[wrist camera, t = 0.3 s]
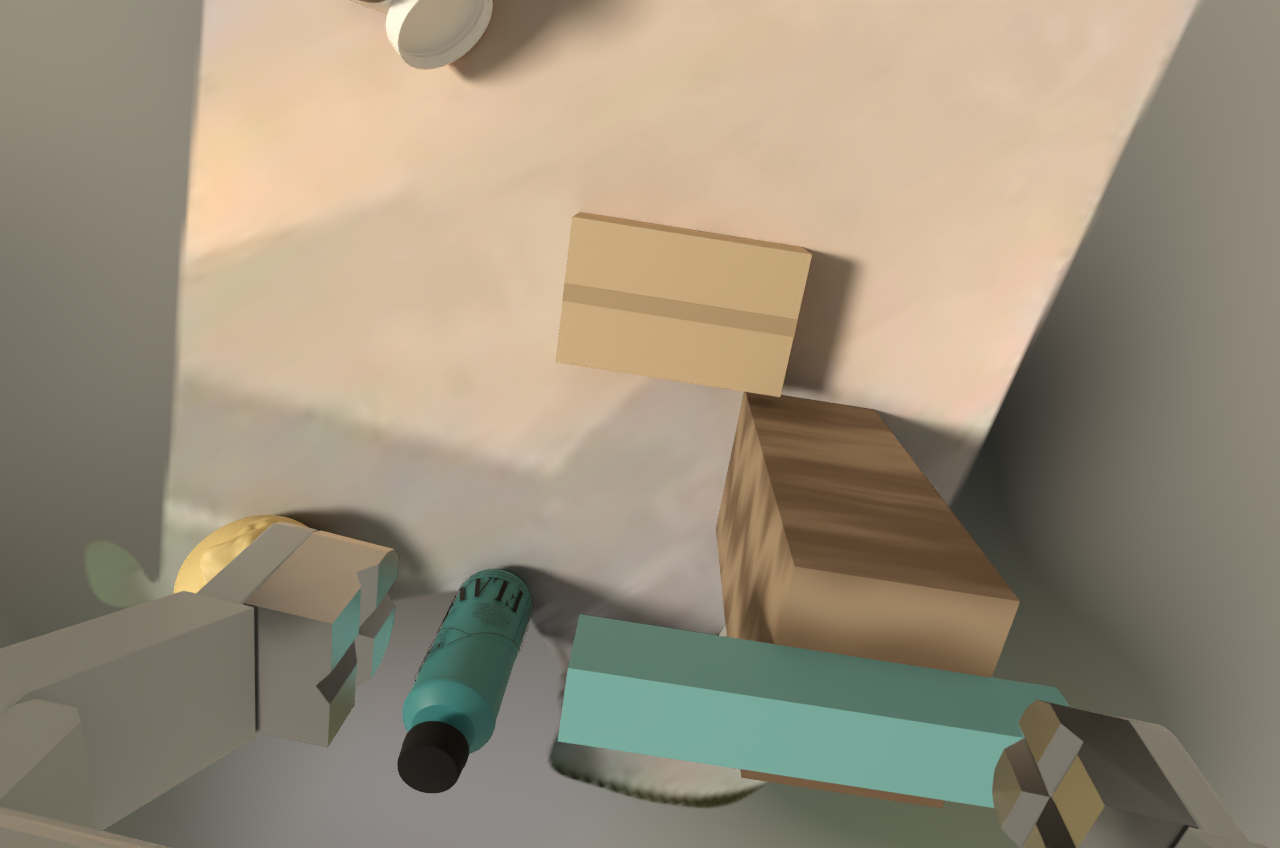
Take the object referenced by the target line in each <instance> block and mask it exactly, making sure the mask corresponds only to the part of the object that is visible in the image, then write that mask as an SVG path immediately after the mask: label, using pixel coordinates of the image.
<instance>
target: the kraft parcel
mask: <svg viewBox="0 0 1280 848" xmlns="http://www.w3.org/2000/svg"><path fill="white" fill-rule="evenodd" d="M811 258H812V254H811V253H809V252H808V251H807V250H806V249H804V248H803V247H797V246H791V245H785V244H778V243H772V242H766V241H759V240H753V239H747V238H740V237H734V236H728V235H721V234H715V233H709V232H702V231H696V230H690V229H683V228H677V227H671V226H664V225H658V224H652V223H645V222H639V221H633V220H626V219H620V218H614V217H607V216H601V215H595V214H588V213H582V212H579V213H578V214H576V215H574V216H573V217H572V225H571V234H570V242H569V251H568V260H567V269H566V277H565V285H564V293H563V304H562V312H561V321H560V330H559V339H558V347H557V356H556V362H559V363H565V364H571V365H578V366H584V367H591V368H597V369H603V370H610V371H616V372H622V373H629V374H635V375H642V376H648V377H654V378H661V379H667V380H674V381H680V382H686V383H693V384H699V385H705V386H712V387H718V388H725V389H731V390H737V391H744V392H750V393H757V394H763V395H769V396H776V397H780V396H781V392H782V387H783V383H784V378H785V374H786V369H787V365H788V360H789V356H790V352H791V347H792V343H793V338H794V335H795V331H796V326H797V322H798V316H799V311H800V307H801V303H802V298H803V294H804V289H805V285H806V280H807V276H808V271H809V267H810V262H811Z"/></svg>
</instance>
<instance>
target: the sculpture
mask: <svg viewBox="0 0 1280 848" xmlns="http://www.w3.org/2000/svg"><path fill="white" fill-rule="evenodd" d="M279 522H287V523H291V524H296V525H300V526H304V527H307V526H306V525H304V524H302V523H300V522H298V521H296V520H294V519H291V518H287V517H283V516H276V515H259V516H252V517H247V518H243V519H240V520H237V521H234V522H232V523H229V524H227V525H225V526H223V527H221V528H220V529H218V530H216V531H215V532H213V533H212V534H210V535H209V536H207V537H206V538H205V539H204V540H202V541H201V542H200V543H199V544H198V545H197V546H196V547H195V548H194V549H193V550H192V552H191V553H190V554H189V555H188V557H187V558H186V560H185V561H184V563H183V565H182V566H181V568H180V571H179V573H178V575H177V578H176V582H175V587H174V594H175V593H178V592H181V591H187V592H192V593H197V592H198V591H199V590H200V589H201V588H202V587H204V586H205V585H206V584H207V583H208V582H209V581H210V580H211V579H212V578H213V577H215V576H216V575H217V574H218V573H219V572H220V571H221V570H222V569H223V568H224V567H226V566H227V565H228V564H229V563H230V562H231V561H232V560H233V559H234V558H235V557H237V556H238V555H239V554H240V553H241V552H242V551H243V550H244V549H245V548H246V547H248V546H249V545H250V544H251V543H252V542H253V541H254V540H255V539H256V538H257V537H259V536H260V535H261V534H262V533H263V532H264V531H265V530H266V529H267V528H268V527H270V526H271V525H272V524H274V523H279ZM308 528H309V527H308Z"/></svg>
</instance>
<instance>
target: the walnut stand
mask: <svg viewBox="0 0 1280 848" xmlns="http://www.w3.org/2000/svg"><path fill="white" fill-rule="evenodd" d="M716 534H717V543H718V553H719V563H720V573H721V583H722V592H723V602H724V612H725V622H726V631H727V637H731V638H738V639H744V640H750V641H757V642H763V643H770V644H776V645H783V646H789V647H796V648H802V649H809V650H815V651H822V652H828V653H835V654H841V655H848V656H854V657H861V658H867V659H874V660H880V661H887V662H893V663H900V664H906V665H913V666H919V667H926V668H932V669H938V670H945V671H951V672H958V673H964V674H971V675H977V676H984V677H990V678H991V677H992V675H993V672H994V669H995V667H996V664H997V661H998V659H999V656H1000V653H1001V651H1002V648H1003V646H1004V643H1005V640H1006V638H1007V635H1008V632H1009V630H1010V627H1011V624H1012V621H1013V619H1014V616H1015V614H1016V611H1017V609H1018V606H1019V603H1020V601H1019V599H1018V598H1017V597H1016V595H1015V594H1014V593H1013V592H1012V590H1011V589H1010V587H1009V586H1008V585H1007V584H1006V582H1005V581H1004V580H1003V578H1002V577H1001V576H1000V574H999V573H998V572H997V570H996V569H995V568H994V566H993V565H992V564H991V562H990V561H989V560H988V558H987V557H986V556H985V555H984V553H983V552H982V551H981V549H980V548H979V547H978V545H977V544H976V543H975V541H974V540H973V539H972V537H971V536H970V535H969V534H968V532H967V531H966V529H965V528H964V527H963V525H962V524H961V523H960V522H959V520H958V519H957V518H956V516H955V515H954V514H953V512H952V511H951V510H950V508H949V507H948V506H947V504H946V503H945V502H944V500H943V499H942V498H941V496H940V495H939V494H938V493H937V491H936V490H935V489H934V487H933V486H932V485H931V483H930V482H929V481H928V479H927V478H926V477H925V475H924V474H923V473H922V471H921V470H920V469H919V468H918V466H917V465H916V464H915V462H914V461H913V460H912V458H911V457H910V456H909V454H908V453H907V452H906V450H905V449H904V448H903V446H902V445H901V444H900V442H899V441H898V440H897V439H896V437H895V436H894V435H893V433H892V432H891V431H890V429H889V428H888V427H887V425H886V424H885V423H884V421H883V420H882V419H881V417H880V416H879V415H878V413H877V412H876V411H875V410H873V409H867V408H861V407H854V406H848V405H842V404H835V403H829V402H822V401H816V400H810V399H803V398H797V397H790V396H784V395H781V396H780V397H776V396H769V395H763V394H757V393H750V392H744V395H743V400H742V405H741V410H740V415H739V420H738V424H737V429H736V434H735V439H734V444H733V449H732V453H731V458H730V463H729V468H728V473H727V478H726V482H725V487H724V492H723V497H722V502H721V507H720V511H719V516H718V521H717V526H716ZM741 778H748V779H755V780H761V781H768V782H775V783H781V784H787V785H794V786H800V787H807V788H813V789H820V790H827V791H833V792H840V793H846V794H853V795H860V796H867V797H872V798H879V799H886V800H892V801H898V802H905V803H912V804H918V805H925V806H931V807H938V808H942V807H943V805H944V802H945V800H940V799H933V798H927V797H920V796H913V795H907V794H900V793H894V792H887V791H881V790H874V789H868V788H861V787H855V786H848V785H842V784H835V783H828V782H822V781H815V780H809V779H802V778H796V777H789V776H783V775H776V774H770V773H763V772H757V771H750V770H743V769H741Z"/></svg>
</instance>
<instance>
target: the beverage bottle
mask: <svg viewBox="0 0 1280 848" xmlns="http://www.w3.org/2000/svg"><path fill="white" fill-rule="evenodd" d="M467 579H468V578H467ZM461 586H462V585H461ZM461 586H460V587H461ZM459 590H460V591H459ZM459 590H458V591H459V593H458V596H457V597H456V596H455V597H456V600H455V602H454V604H453V603H452V604H451V606H452V608H451V606H450V608H451V610H450V608H449V610H450V612H449V610H448V612H449V613H448V612H447V614H446V616H447V617H446V616H445V618H444V620H445V619H446V620H445V622H444V620H443V622H444V624H443V626H442V628H441V629H440V632H439V634H438V636H437V638H436V640H435V642H434V644H433V646H432V648H431V650H430V651H429V652H428V653H429V654H428V653H427V655H428V656H427V658H426V660H424V664H423V667H422V668H421V671H420V670H419V671H420V673H419V675H418V677H417V680H415V681H416V682H415V684H414V686H413V688H412V690H411V692H410V693H409V694H408V696H407V698H406V700H405V702H404V705H403V711H402V716H403V722H404V725H405V728H406V730H407V732H408V733H407V735H406V737H405V739H404V742H403V745H402V749H401V752H400V755H399V758H398V772H399V775H400V777H401V778H402V780H403V781H404V782H405V783H406V784H407V785H409V786H410V787H412V788H413V789H415V790H418V791H421V792H425V793H440V792H444V791H446V790H448V789H450V788H451V787H452V786H453V785H454V784H455V783H456V781H457V780H458V778H459V776H460V774H461V771H462V769H463V768H464V766H465V764H466V762H467V759H468V756H469V754H470V753H473V752H475V751H477V750H479V749H480V748H482V747H483V746H484V745H485V744H486V743H487V742H488V741H489V739H490V738H491V736H492V734H493V731H494V729H495V724H496V718H497V715H498V712H499V709H500V706H501V702H502V699H503V696H504V693H505V689H506V687H507V683H508V680H509V677H510V674H511V670H512V667H513V664H514V661H515V659H516V657H517V654H518V651H519V648H520V645H521V642H522V639H523V636H524V633H525V630H526V627H527V624H528V621H529V618H532V617H531V616H530V615H531V611H533V610H532V602H533V601H532V600H531V598H532V597H531V595H530V592H529V590H528V588H527V586H526V585H525V583H524V582H523V581H522V580H521V579H520V578H519V577H517V576H516V575H514V574H512V573H510V572H508V571H505V570H500V569H487V570H483V571H480V572H478V573H476V574H474V575H473V576H470V578H469V579H468V580H467V581H466V582H464V584H463V586H462V587H461V588H460V589H459Z"/></svg>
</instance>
